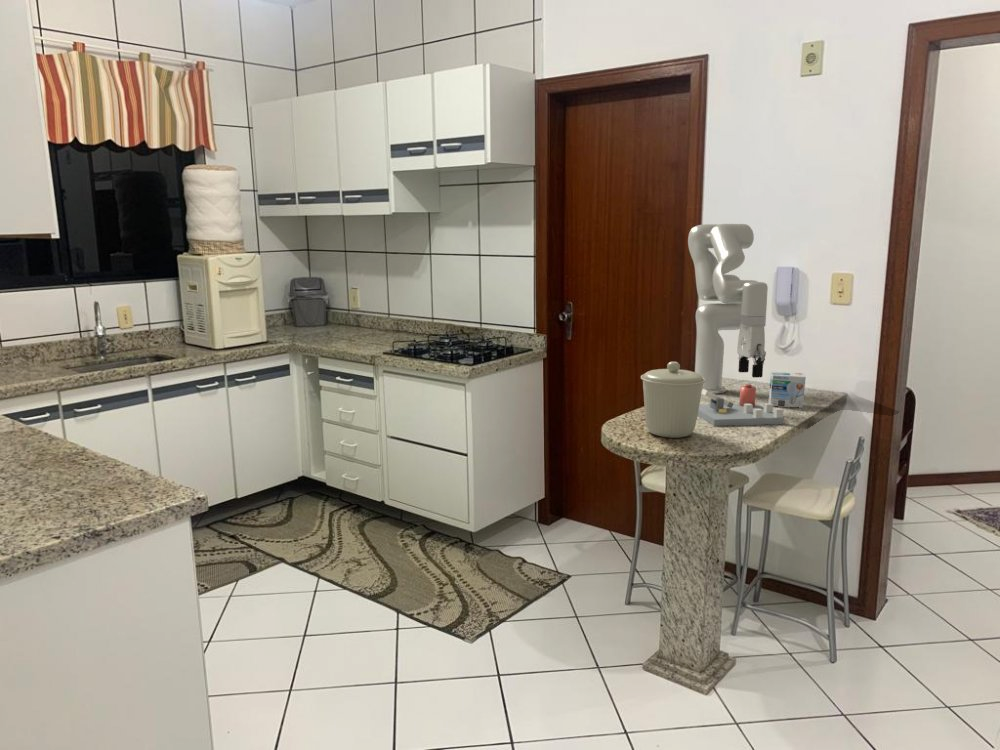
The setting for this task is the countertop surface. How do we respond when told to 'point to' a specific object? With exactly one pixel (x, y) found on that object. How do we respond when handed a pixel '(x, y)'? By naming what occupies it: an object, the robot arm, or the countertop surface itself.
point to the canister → (672, 400)
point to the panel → (739, 414)
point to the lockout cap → (747, 395)
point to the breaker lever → (716, 398)
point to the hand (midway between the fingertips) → (750, 374)
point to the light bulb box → (787, 389)
